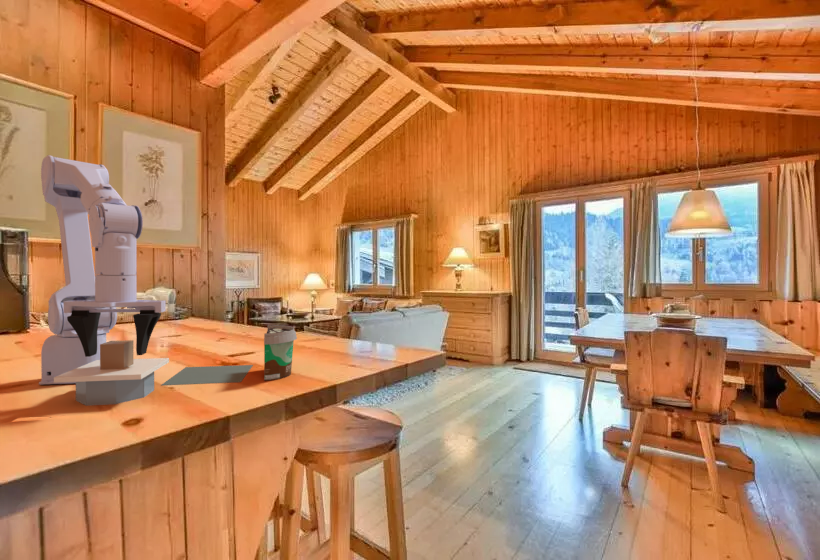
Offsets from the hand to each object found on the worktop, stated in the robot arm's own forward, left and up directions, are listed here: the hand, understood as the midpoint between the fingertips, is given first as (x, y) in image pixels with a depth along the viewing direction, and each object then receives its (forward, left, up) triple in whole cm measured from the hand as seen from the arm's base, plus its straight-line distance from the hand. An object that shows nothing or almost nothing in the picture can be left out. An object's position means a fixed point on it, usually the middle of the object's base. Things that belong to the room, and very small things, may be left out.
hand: (116, 354), depth 69 cm
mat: (+12, +12, -7) cm, 19 cm away
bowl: (0, 0, -7) cm, 7 cm away
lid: (0, 0, -3) cm, 3 cm away
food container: (+26, +10, -8) cm, 29 cm away
